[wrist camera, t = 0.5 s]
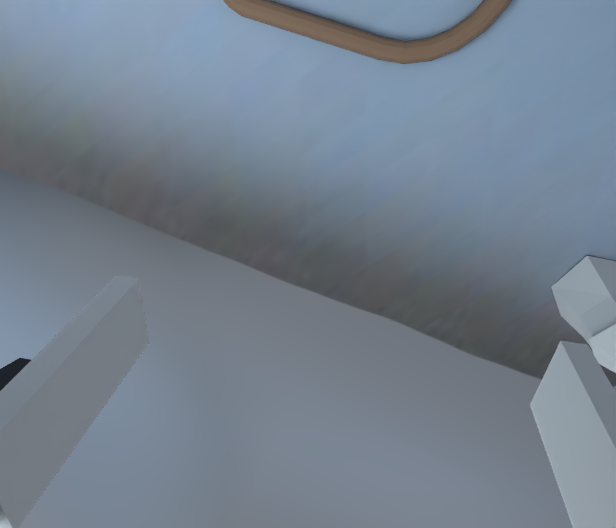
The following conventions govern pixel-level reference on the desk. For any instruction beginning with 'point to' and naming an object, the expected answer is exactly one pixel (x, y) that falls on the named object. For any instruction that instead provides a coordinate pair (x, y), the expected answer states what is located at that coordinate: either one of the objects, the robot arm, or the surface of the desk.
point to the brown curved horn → (256, 6)
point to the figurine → (591, 305)
